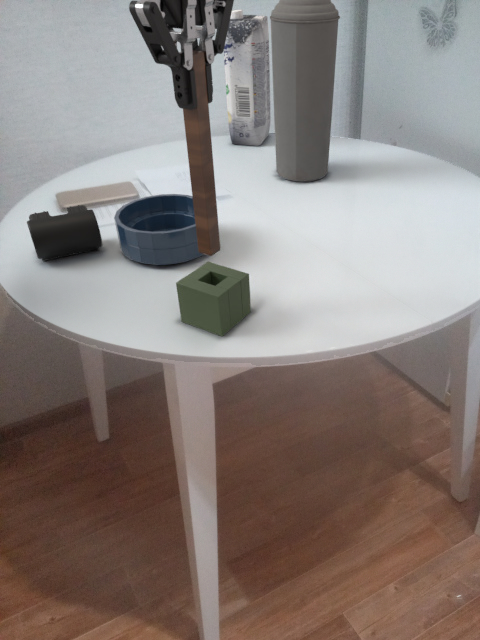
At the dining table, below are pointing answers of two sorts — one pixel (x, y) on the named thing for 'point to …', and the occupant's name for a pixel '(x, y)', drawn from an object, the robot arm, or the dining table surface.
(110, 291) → the dining table surface
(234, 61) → the juice carton
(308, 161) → the canister
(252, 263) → the dining table surface
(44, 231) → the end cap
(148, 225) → the bowl
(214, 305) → the holder
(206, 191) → the stick
